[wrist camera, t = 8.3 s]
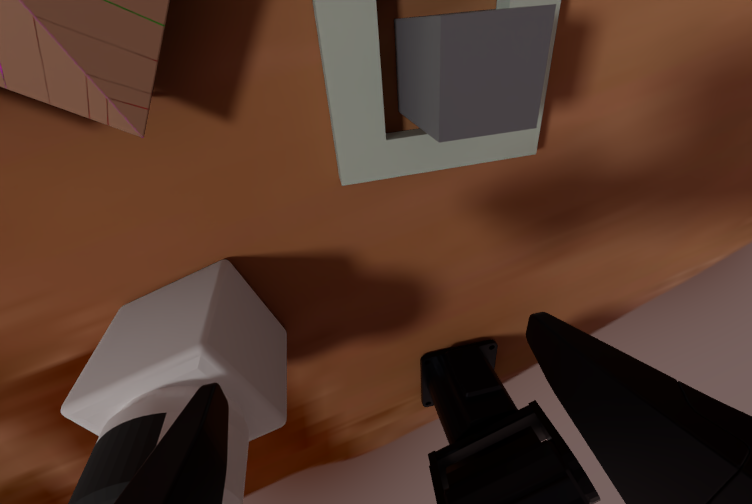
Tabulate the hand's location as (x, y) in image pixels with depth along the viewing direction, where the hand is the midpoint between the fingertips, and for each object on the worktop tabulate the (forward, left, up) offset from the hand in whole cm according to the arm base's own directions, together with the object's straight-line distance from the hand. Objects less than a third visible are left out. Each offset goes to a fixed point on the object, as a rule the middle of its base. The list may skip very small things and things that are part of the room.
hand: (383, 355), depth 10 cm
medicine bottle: (-7, +9, -12) cm, 17 cm away
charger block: (+6, -6, -12) cm, 15 cm away
